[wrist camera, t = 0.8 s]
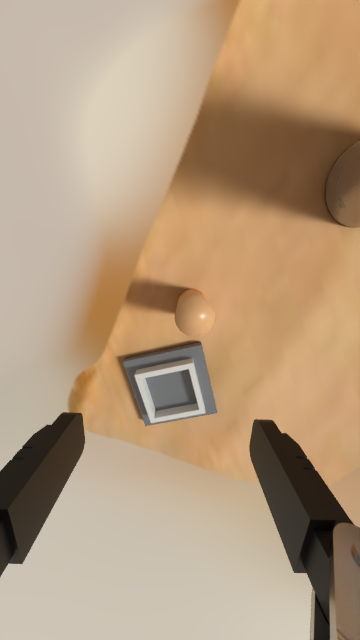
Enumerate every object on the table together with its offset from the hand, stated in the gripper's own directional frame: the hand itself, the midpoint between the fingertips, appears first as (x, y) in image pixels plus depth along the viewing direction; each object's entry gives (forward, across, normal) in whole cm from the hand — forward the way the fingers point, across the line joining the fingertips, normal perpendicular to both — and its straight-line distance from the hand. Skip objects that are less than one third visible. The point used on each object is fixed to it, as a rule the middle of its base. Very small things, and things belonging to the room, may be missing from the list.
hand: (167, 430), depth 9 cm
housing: (+19, 0, +10) cm, 22 cm away
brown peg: (+19, -2, -3) cm, 19 cm away
